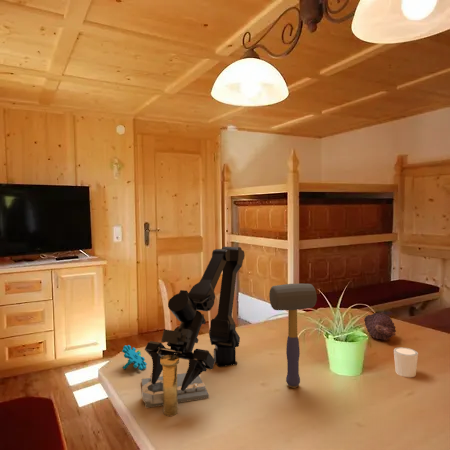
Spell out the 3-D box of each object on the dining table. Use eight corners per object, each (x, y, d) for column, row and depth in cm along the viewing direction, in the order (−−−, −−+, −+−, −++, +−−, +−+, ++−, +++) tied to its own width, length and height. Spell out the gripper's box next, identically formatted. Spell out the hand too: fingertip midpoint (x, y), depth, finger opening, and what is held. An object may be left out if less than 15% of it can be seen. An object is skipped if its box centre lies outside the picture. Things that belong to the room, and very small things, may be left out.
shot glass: (417, 370, 117) (417, 348, 117) (418, 379, 111) (418, 356, 111) (393, 367, 120) (393, 345, 120) (393, 375, 114) (393, 353, 114)
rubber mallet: (307, 378, 113) (307, 280, 112) (318, 389, 106) (318, 285, 105) (268, 382, 110) (267, 282, 109) (277, 395, 103) (276, 287, 102)
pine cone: (356, 331, 155) (356, 308, 154) (378, 330, 156) (378, 306, 156) (381, 347, 137) (381, 320, 137) (405, 345, 139) (405, 318, 138)
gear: (142, 371, 116) (121, 347, 117) (129, 384, 116) (107, 360, 117) (152, 361, 127) (132, 339, 128) (140, 373, 127) (120, 352, 128)
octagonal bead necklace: (196, 371, 116) (196, 364, 116) (208, 395, 101) (207, 386, 101) (140, 379, 111) (139, 371, 111) (143, 405, 97) (143, 396, 97)
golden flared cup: (178, 405, 98) (177, 353, 98) (181, 415, 94) (180, 360, 93) (160, 408, 97) (159, 355, 96) (162, 418, 92) (161, 363, 92)
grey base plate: (197, 374, 116) (197, 371, 116) (208, 397, 102) (208, 394, 102) (141, 382, 112) (141, 379, 112) (145, 407, 97) (145, 404, 97)
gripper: (148, 312, 102) (122, 367, 92) (209, 319, 94) (187, 381, 84) (164, 331, 109) (142, 384, 100) (222, 340, 101) (204, 399, 92)
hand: (167, 387), depth 94 cm, fingers open, 8 cm apart
